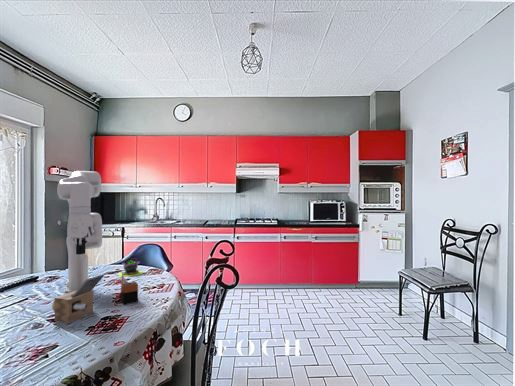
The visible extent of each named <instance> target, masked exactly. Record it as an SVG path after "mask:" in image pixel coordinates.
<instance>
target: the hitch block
mask: <svg viewBox="0 0 515 386" xmlns="http://www.w3.org/2000/svg"><path fill="white" fill-rule="evenodd" d="M76 291H77V290H76ZM76 291H73V292H70V293H67V292H66V293H65V294H62V295H58V296H56V297H54V301H55V311H54V321H55V322H62V323H68V324H70V323H72V322H74V321H76V320H78V319H80V318H83V317H85V316H87V315H91V314H92V313H94V290H92V291H91V292H88V293H85V294H82V295H80V296H77V297H74V298H72V297H71V295H73V294H74V293H75V292H76ZM73 302H76V303H83V304H87V309H86V310H85V311H77V310H72V303H73Z"/></svg>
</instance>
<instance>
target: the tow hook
mask: <svg viewBox="0 0 515 386" xmlns="http://www.w3.org/2000/svg"><path fill="white" fill-rule="evenodd" d="M124 272H125V271H123V272H121V273H122V276H120V277H121V279H120V280H121V283H120V285H121V286H120V292H119V293H118V294H115V298H119V299H122V284H124V282H125V277H124Z"/></svg>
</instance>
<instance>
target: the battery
mask: <svg viewBox="0 0 515 386" xmlns="http://www.w3.org/2000/svg"><path fill="white" fill-rule="evenodd" d="M138 302H139V284H138V283H137V282H136V281H135V280H132V281H131V282H129V281H124V284H122V298H121V304H123V305H129V304H135V303H138Z"/></svg>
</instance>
